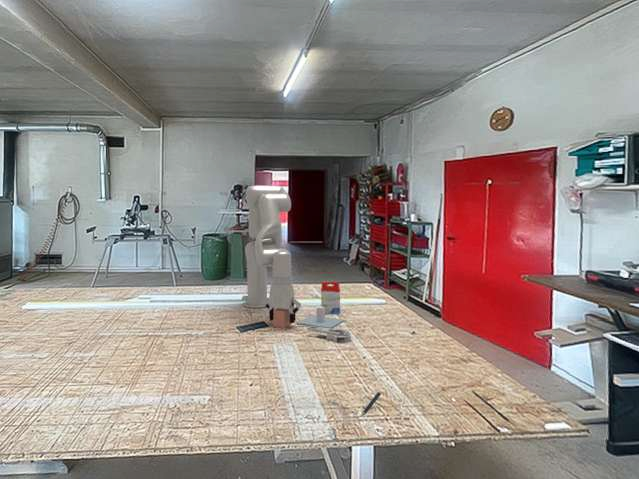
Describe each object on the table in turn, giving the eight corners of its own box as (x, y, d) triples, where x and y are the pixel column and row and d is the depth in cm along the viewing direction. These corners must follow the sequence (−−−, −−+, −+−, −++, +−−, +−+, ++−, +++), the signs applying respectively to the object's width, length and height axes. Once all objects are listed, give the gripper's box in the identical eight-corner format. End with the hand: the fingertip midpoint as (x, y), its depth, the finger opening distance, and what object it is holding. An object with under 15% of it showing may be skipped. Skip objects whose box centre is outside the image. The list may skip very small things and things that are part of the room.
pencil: (380, 395, 136) (363, 418, 122) (377, 394, 136) (359, 417, 122) (380, 392, 136) (363, 414, 122) (377, 391, 136) (359, 413, 122)
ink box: (340, 311, 230) (340, 280, 228) (339, 314, 225) (339, 282, 224) (322, 311, 231) (322, 280, 229) (320, 313, 226) (321, 282, 224)
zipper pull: (314, 332, 196) (314, 321, 196) (354, 338, 187) (354, 327, 187) (303, 337, 189) (303, 326, 189) (345, 344, 180) (345, 332, 180)
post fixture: (296, 324, 207) (296, 308, 207) (311, 316, 220) (312, 302, 219) (330, 329, 200) (330, 313, 200) (344, 321, 213) (344, 306, 212)
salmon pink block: (273, 326, 204) (273, 309, 203) (280, 323, 208) (280, 307, 208) (284, 328, 201) (284, 311, 201) (290, 325, 206) (290, 308, 205)
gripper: (259, 280, 204) (259, 320, 205) (295, 284, 196) (295, 326, 197) (269, 277, 210) (269, 316, 212) (304, 281, 202) (304, 321, 204)
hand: (282, 321), depth 205 cm, fingers open, 9 cm apart
